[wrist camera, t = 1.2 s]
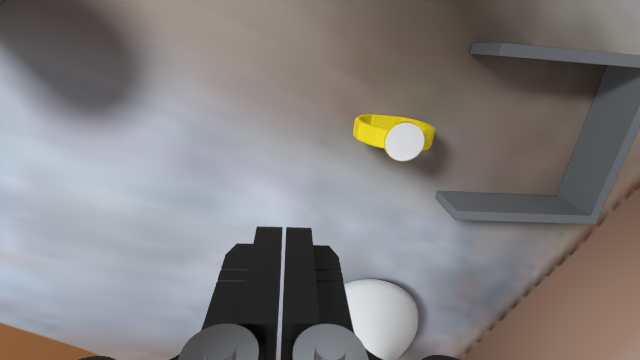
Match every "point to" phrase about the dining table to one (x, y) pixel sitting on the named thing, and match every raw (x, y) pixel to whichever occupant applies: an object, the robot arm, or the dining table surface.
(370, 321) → the flower in vase
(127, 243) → the dining table surface
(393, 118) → the watch
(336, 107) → the dining table surface
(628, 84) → the box
